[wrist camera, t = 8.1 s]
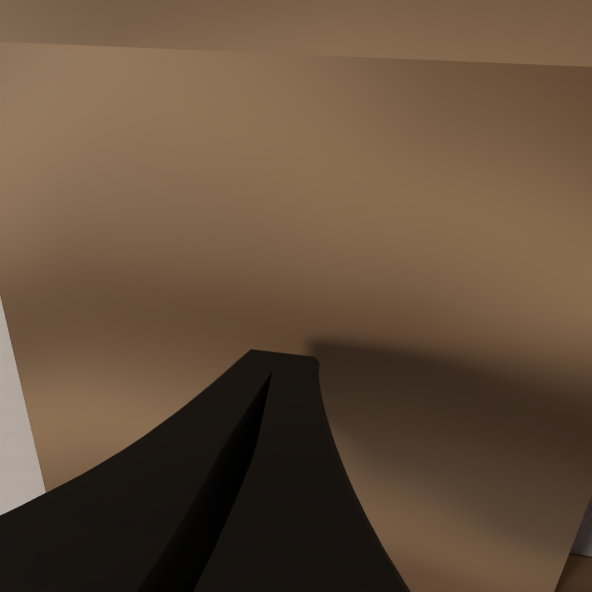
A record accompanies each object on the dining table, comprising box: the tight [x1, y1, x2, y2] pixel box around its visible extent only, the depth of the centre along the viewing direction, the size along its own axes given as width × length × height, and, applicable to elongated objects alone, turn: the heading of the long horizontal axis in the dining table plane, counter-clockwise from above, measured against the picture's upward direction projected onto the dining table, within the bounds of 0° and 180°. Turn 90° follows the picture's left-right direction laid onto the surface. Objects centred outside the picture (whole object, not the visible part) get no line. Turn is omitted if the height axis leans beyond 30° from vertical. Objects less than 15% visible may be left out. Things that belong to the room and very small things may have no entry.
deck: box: [0, 0, 592, 592], centre depth 11 cm, size 18×24×2 cm
